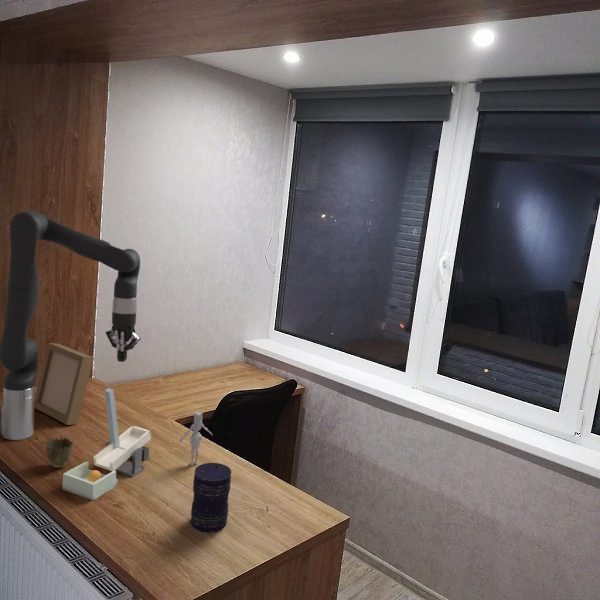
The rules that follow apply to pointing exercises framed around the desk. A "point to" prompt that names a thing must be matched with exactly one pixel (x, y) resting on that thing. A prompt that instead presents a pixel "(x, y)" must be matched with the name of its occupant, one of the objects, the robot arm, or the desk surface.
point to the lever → (119, 439)
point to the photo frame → (63, 383)
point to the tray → (87, 482)
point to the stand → (134, 467)
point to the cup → (59, 452)
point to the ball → (94, 476)
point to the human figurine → (195, 436)
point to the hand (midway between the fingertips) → (121, 361)
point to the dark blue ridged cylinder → (210, 497)
